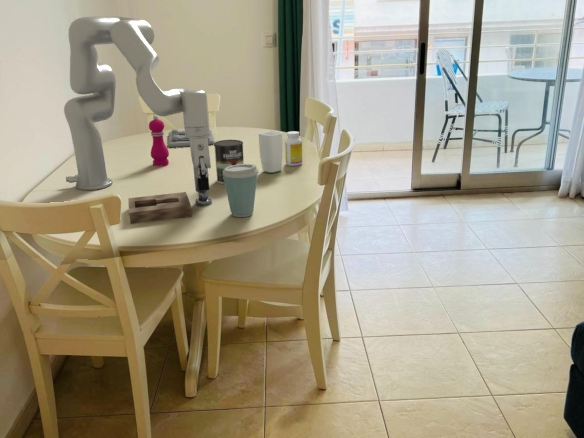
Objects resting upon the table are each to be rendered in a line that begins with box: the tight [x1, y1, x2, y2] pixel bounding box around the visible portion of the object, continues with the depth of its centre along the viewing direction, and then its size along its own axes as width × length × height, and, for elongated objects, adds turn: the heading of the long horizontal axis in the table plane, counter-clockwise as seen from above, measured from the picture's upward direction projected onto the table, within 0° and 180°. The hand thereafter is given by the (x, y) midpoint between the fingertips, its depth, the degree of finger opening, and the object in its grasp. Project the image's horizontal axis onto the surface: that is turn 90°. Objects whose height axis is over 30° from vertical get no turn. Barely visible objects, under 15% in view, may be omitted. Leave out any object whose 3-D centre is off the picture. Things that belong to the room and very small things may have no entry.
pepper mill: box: [148, 115, 170, 167], centre depth 217 cm, size 7×7×20 cm
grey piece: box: [167, 128, 216, 149], centre depth 262 cm, size 30×22×7 cm
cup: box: [258, 130, 284, 174], centre depth 204 cm, size 7×7×15 cm
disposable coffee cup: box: [222, 163, 260, 218], centre depth 161 cm, size 11×11×15 cm
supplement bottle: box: [284, 130, 303, 167], centre depth 214 cm, size 7×7×13 cm
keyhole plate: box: [128, 191, 193, 225], centre depth 166 cm, size 18×14×4 cm
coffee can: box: [213, 139, 245, 185], centre depth 195 cm, size 10×10×14 cm
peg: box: [192, 164, 213, 207], centre depth 172 cm, size 5×5×13 cm
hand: (202, 185), depth 172 cm, fingers open, 7 cm apart
